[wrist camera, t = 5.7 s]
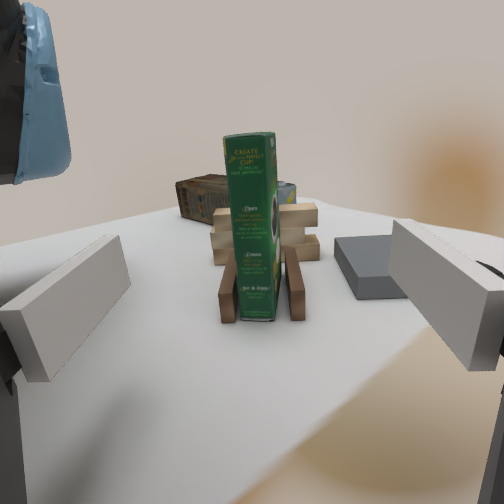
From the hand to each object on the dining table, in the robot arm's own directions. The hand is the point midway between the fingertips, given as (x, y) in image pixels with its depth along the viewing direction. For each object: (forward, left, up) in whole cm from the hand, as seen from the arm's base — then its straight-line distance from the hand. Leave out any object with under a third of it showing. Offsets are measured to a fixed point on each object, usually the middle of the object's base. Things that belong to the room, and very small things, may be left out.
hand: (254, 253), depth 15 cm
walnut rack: (0, +10, -8) cm, 12 cm away
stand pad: (+12, +12, -8) cm, 19 cm away
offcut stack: (0, +17, -8) cm, 19 cm away
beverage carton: (-5, +33, -8) cm, 34 cm away
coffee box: (0, +10, -8) cm, 12 cm away
